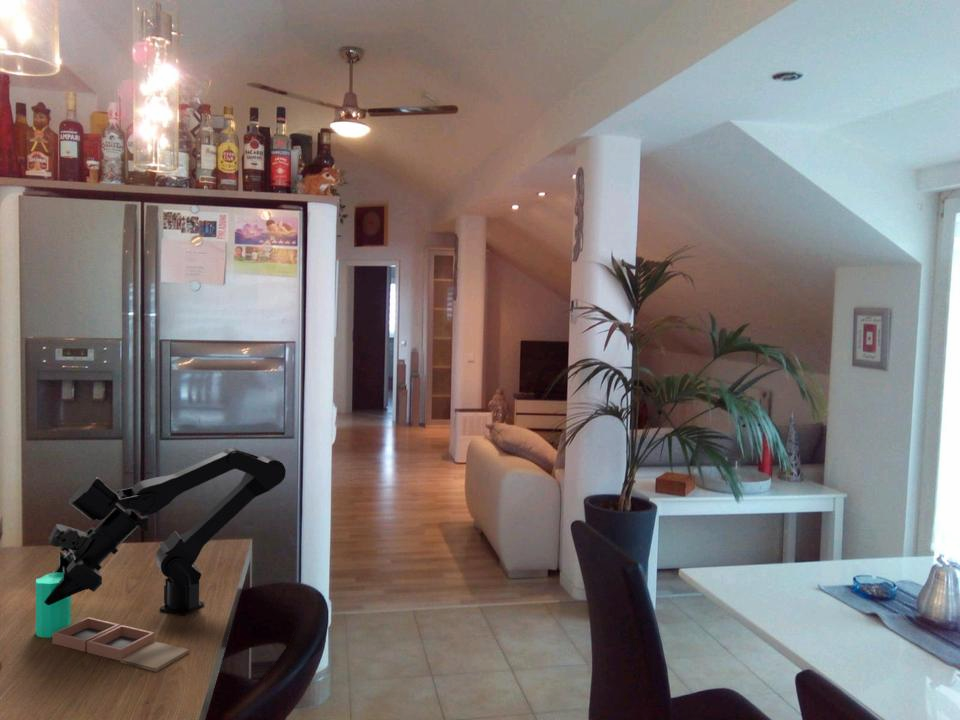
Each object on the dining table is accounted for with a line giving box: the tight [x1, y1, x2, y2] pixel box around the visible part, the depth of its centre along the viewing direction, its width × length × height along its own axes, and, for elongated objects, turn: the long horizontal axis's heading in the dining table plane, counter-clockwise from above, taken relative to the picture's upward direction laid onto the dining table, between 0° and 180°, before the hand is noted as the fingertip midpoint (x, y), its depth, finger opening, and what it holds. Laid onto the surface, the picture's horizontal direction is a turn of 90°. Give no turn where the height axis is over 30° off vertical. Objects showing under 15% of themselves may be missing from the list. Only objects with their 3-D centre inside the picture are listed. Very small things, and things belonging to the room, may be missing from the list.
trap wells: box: [51, 616, 156, 662], centre depth 139 cm, size 16×8×2 cm, turn 70°
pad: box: [120, 641, 190, 673], centre depth 134 cm, size 8×8×1 cm
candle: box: [35, 569, 72, 638], centre depth 143 cm, size 6×6×12 cm
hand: (45, 598), depth 142 cm, fingers closed on candle, 5 cm apart
